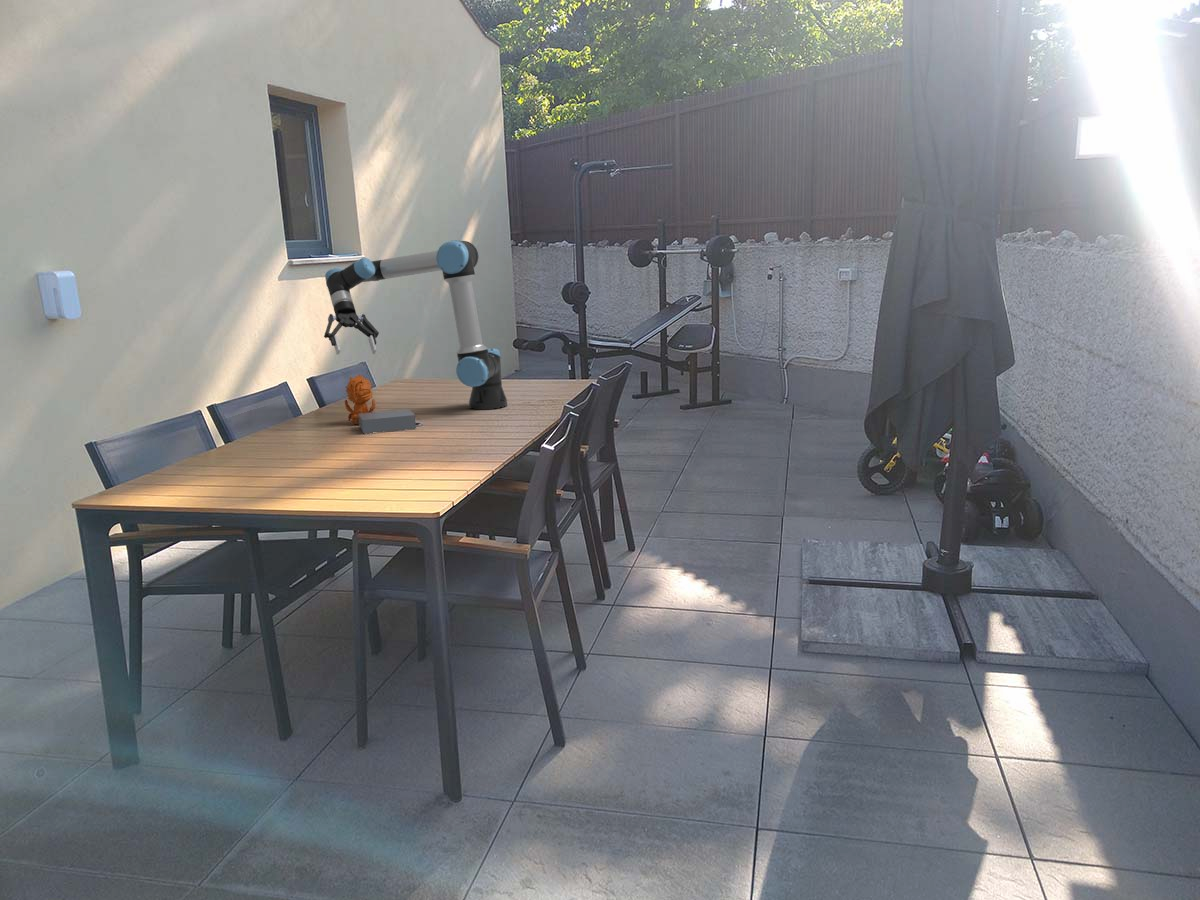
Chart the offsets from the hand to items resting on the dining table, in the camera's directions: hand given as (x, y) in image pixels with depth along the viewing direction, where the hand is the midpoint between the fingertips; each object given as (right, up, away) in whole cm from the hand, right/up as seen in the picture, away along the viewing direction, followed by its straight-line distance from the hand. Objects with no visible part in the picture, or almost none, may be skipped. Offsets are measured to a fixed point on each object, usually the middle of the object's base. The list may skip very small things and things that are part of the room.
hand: (356, 352), depth 332 cm
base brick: (+14, -28, -11) cm, 33 cm away
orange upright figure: (+2, -26, +1) cm, 26 cm away
